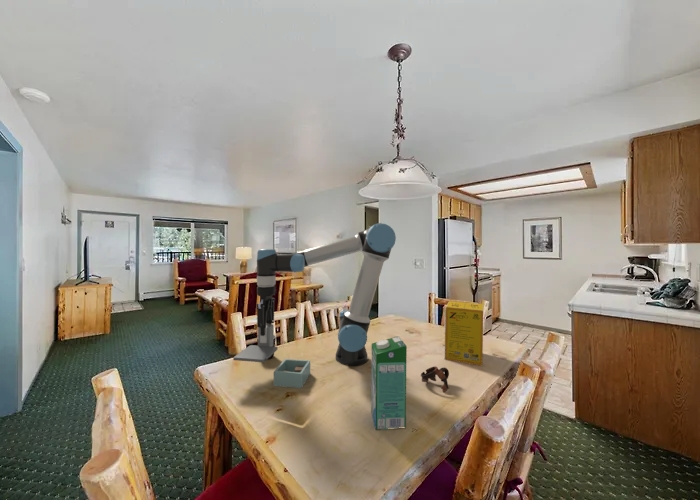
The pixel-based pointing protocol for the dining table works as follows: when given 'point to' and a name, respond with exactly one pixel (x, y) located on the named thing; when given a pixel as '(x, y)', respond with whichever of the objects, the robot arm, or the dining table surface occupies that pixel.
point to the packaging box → (464, 332)
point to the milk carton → (388, 383)
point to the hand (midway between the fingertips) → (265, 340)
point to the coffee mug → (272, 346)
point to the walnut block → (299, 368)
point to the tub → (291, 373)
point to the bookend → (259, 348)
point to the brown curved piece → (435, 371)
